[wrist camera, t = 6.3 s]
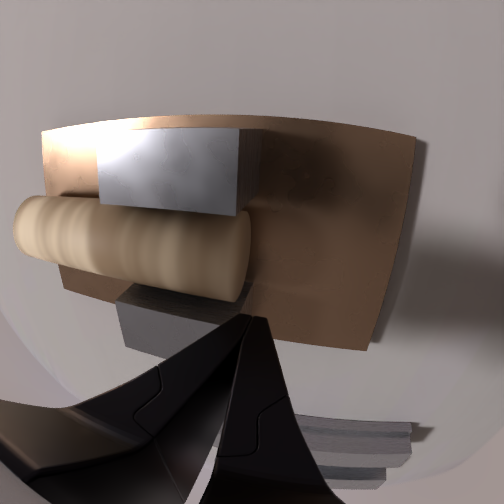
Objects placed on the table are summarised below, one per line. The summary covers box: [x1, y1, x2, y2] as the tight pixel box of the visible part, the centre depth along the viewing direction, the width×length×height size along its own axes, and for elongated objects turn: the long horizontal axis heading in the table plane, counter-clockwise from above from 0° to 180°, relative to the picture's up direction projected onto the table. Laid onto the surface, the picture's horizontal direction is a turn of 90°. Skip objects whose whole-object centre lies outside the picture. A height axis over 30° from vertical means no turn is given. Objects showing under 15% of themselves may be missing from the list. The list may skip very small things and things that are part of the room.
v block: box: [213, 415, 412, 489], centre depth 21 cm, size 16×9×3 cm, turn 87°
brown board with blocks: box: [42, 115, 416, 359], centre depth 14 cm, size 22×12×5 cm, turn 87°
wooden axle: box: [13, 196, 251, 302], centre depth 14 cm, size 14×4×4 cm, turn 87°
